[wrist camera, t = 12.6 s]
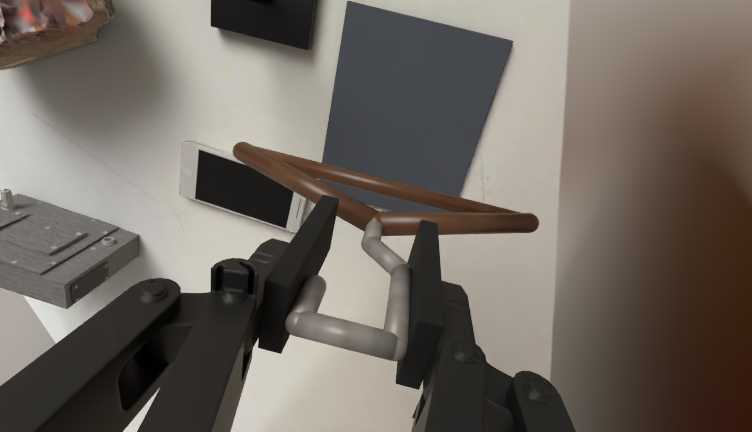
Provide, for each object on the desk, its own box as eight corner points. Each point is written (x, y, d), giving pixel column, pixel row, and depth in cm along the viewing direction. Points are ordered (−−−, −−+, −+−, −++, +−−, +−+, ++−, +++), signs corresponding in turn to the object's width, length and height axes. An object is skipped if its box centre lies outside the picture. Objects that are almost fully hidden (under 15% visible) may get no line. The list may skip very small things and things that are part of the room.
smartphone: (186, 139, 43) (181, 141, 42) (311, 181, 43) (308, 184, 42) (183, 192, 46) (178, 195, 45) (299, 230, 46) (297, 234, 45)
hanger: (538, 212, 22) (677, 413, 10) (531, 229, 23) (653, 438, 11) (238, 137, 22) (24, 247, 10) (238, 155, 23) (32, 280, 11)
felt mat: (511, 41, 34) (513, 41, 34) (448, 222, 43) (448, 225, 43) (348, 1, 34) (347, 0, 34) (318, 190, 43) (317, 191, 43)
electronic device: (22, 218, 51) (-196, 313, 33) (15, 175, 48) (-229, 254, 30) (141, 257, 51) (-11, 372, 33) (141, 217, 48) (-25, 319, 30)
